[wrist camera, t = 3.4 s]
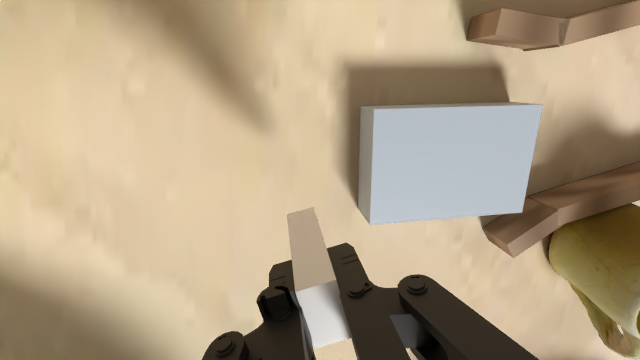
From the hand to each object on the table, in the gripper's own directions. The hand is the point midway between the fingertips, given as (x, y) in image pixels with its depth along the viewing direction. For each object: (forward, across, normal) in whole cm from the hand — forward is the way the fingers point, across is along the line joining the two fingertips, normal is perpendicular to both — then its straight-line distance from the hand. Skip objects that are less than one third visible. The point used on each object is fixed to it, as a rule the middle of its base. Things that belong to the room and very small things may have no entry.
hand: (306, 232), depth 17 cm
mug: (+7, +24, -14) cm, 29 cm away
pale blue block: (+7, +11, 0) cm, 13 cm away
